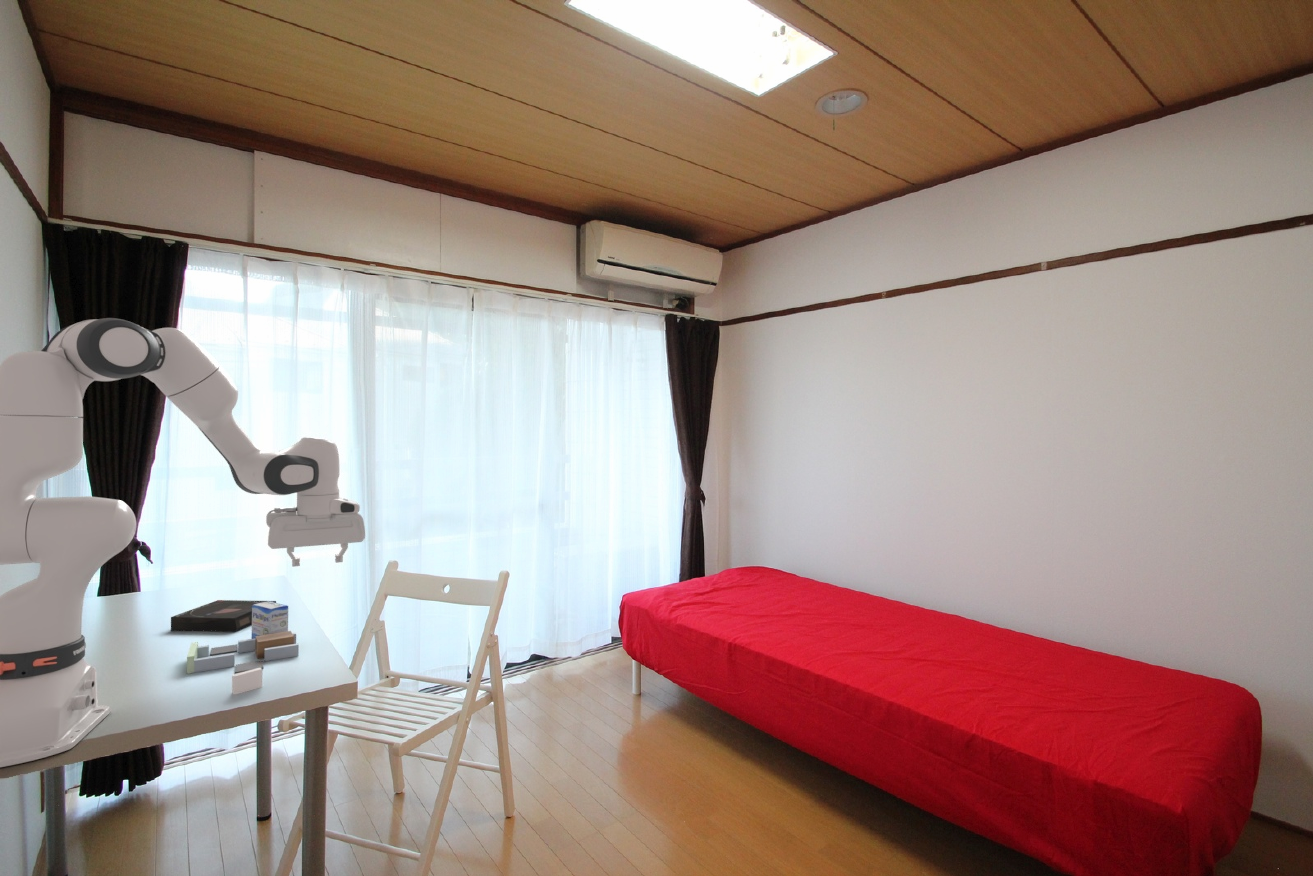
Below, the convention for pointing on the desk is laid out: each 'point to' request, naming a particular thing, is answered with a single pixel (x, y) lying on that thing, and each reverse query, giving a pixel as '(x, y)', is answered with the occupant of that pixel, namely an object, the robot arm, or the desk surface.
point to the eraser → (246, 681)
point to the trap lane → (202, 661)
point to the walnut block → (272, 642)
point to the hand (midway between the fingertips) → (317, 564)
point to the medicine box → (269, 618)
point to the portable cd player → (216, 617)
